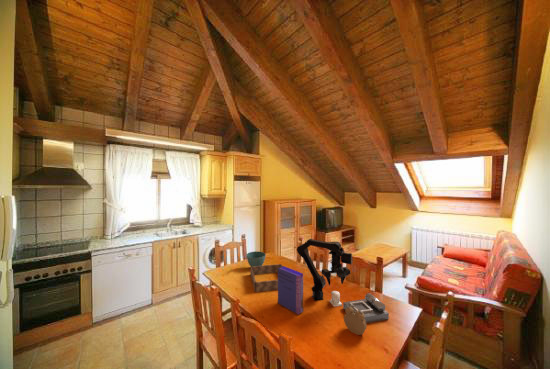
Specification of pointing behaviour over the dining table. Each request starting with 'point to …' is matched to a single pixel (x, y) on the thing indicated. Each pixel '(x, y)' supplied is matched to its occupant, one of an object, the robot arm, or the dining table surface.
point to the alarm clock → (355, 320)
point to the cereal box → (290, 289)
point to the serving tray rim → (264, 284)
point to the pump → (335, 299)
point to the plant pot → (256, 258)
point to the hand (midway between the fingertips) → (335, 284)
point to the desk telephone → (369, 308)
